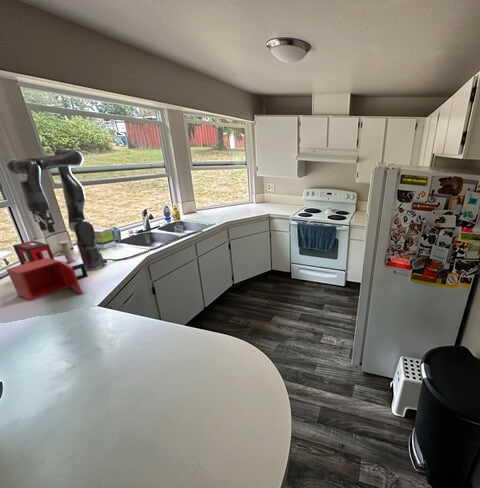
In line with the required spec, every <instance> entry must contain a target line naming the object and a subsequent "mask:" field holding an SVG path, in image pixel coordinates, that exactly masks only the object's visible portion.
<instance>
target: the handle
mask: <svg viewBox="0 0 480 488" xmlns="http://www.w3.org/2000/svg"><path fill="white" fill-rule="evenodd" d="M69 244H70V241H69V240H68V239H67V240H61V241H58V245H59V246H61V248H62V253H63V255H64V258H65V259H66V262H67V263H73V262H75V259H74V256H73V252H72V250H71V248H70V246H69Z"/></svg>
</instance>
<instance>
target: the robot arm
mask: <svg viewBox="0 0 480 488" xmlns="http://www.w3.org/2000/svg"><path fill="white" fill-rule="evenodd" d="M83 163H84V157H83V154H82V153H81V152H80V151H79V150H76V149H69V148H56V149H55V150H54V153H53V154H49V155H47V154H46V155H38V156H32V157H25V158H14V159H13V158H12V159H10V160H8V161H7V163H6V169H7V170H8V171H9V172H10V173H12V174H15V175H20V176H21V175H22V176H26V179H22V180H20V181H19V182H18V183H19V187H20V189H21V192H22V196H23V199H24V202H25V204H26V207H27V210H28V211H29V212H31V214H32V217H33V219H34V222H35V223H37V225H38V226H39V229H40V231H42V232H43V231H48V233H49V234H52V233H55V232H56V229H55V228H54V225H55V224H56V223H55V221H54V219H53V215H52V213H51V212H47V211H49V210H51V206H50V203H49V201H48V198H47V195H46V194H45V192H44V188H43V186H42V183H41V180H42V179H41V177H42V176H41V175H42V172H45V171H49V170H53V169H57V170H58V173H59V177H60V183H61V186H62V188H61V189H62V193H63V198H64V200H65V201H64V202H65V206H66V210H67V219H68V221H67V222H68V228H69V231H71V232H72V233H74V234H75V236H76V241H75V244H76V247H77V249H78V252H79V256H80V259H81V261H82V264H84V266H85V269H86V271H95V270H98V269H101V268H103V267H104V266H106V265H105V264H108V261H114V262H115V261H122V260H126V259H131V258H133V257H136V256H139V255H142V254H145V253H148V252H150V251H152V250H155V249H157V248H159V247H162V246H164V245H167V244H168V243H171V242H173V241H176V240H178V239H181V238H183V237H187V236H190V235H194V234H197V233H201V232H203V230H198V231H195V232H191V233H188V234H187V233H186V234H184V235H180V236H178V237H175V238H173V239H170V240H168V241H166V242H164V243H162V244H159V245H160V246H159V245H157V246H158V247H157V246H154V247H155V248H154V247H152V248H153V249H152V248H150V249H147V250H148V251H147V250H144V251H141V252H139V253H136V254H133V255H130V256H126V257H123V258H117V259H116V258H114V259H113V258H104V257H103V255H102V252H100V250H99V248H98V247H97V244H96V236H95V232H94V225H93V224H92V222H90V221H88V220H86V218H85V214H84V207H85V203H86V194H85V188H84V186H83V185H82V183H80V182H79V180H77V178H76V177H75V176H74V175H73V173H72V171H71V168H70V166H71V167H72V166H73V167H78V166H81V165H82V164H83Z"/></svg>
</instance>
